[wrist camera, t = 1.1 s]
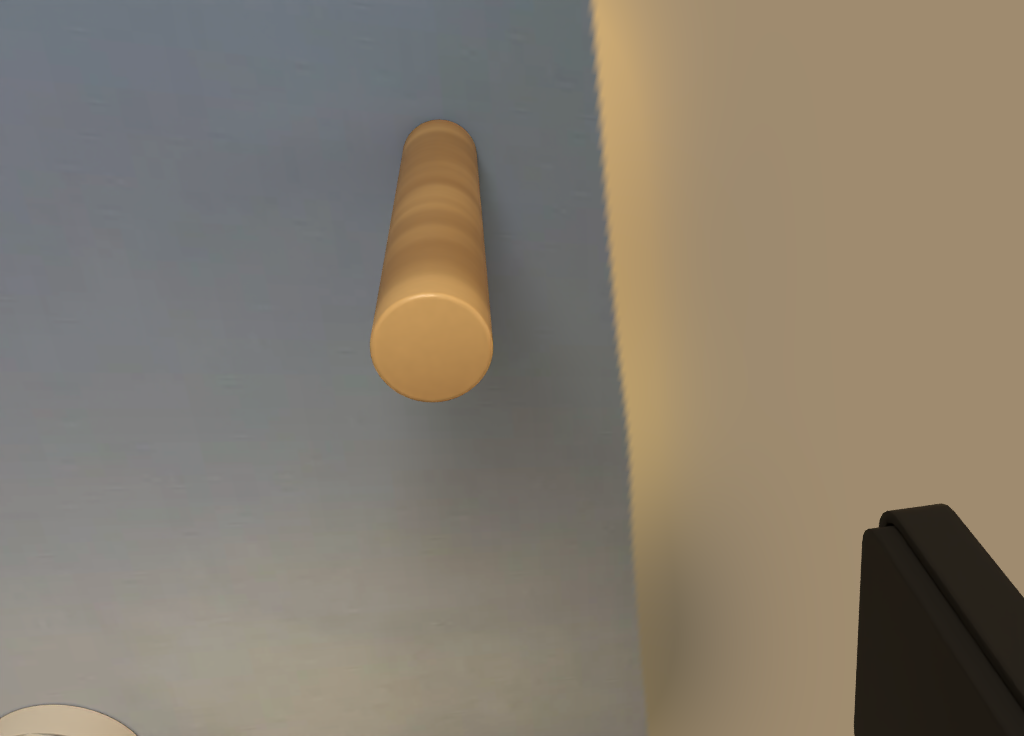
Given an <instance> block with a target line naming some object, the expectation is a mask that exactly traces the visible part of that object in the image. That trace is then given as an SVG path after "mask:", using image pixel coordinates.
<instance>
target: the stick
mask: <svg viewBox="0 0 1024 736" xmlns="http://www.w3.org/2000/svg"><path fill="white" fill-rule="evenodd" d="M370 353H371V358H372V361H373V364H374V367H375V369H376V371H377V372H378V374H379V376H380V377H381V378H382V379H383V381H384V382H385V383H386V384H387V385H388V386H390V387H391V388H392V389H393V390H395V391H396V392H397V393H399V394H401V395H403V396H405V397H408V398H410V399H413V400H417V401H423V402H442V401H447V400H451V399H454V398H457V397H459V396H461V395H463V394H465V393H466V392H468V391H469V390H471V389H472V388H473V387H474V386H476V385H477V384H478V383H479V382H480V380H481V379H482V378H483V377H484V375H485V374H486V372H487V370H488V368H489V365H490V363H491V359H492V355H493V339H492V327H491V316H490V304H489V292H488V281H487V269H486V257H485V246H484V234H483V222H482V211H481V199H480V187H479V176H478V164H477V152H476V147H475V144H474V142H473V140H472V138H471V137H470V135H469V134H468V133H467V132H466V130H464V129H463V128H462V127H461V126H459V125H458V124H455V123H453V122H450V121H447V120H432V121H428V122H425V123H423V124H421V125H419V126H418V127H416V128H415V129H414V130H413V131H412V132H411V133H410V134H409V136H408V138H407V139H406V142H405V144H404V148H403V154H402V159H401V165H400V171H399V177H398V183H397V188H396V194H395V200H394V206H393V211H392V217H391V223H390V229H389V235H388V240H387V246H386V252H385V258H384V264H383V269H382V275H381V281H380V287H379V292H378V298H377V304H376V310H375V316H374V321H373V327H372V333H371V339H370Z"/></svg>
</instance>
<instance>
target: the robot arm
mask: <svg viewBox="0 0 1024 736" xmlns="http://www.w3.org/2000/svg"><path fill="white" fill-rule="evenodd" d="M861 561H862V562H861V581H860V583H861V584H860V604H859V626H858V648H857V670H856V692H855V694H856V695H855V715H854V734H855V736H1024V598H1023V596H1022V595H1021V594H1020V593H1019V591H1018V590H1017V589H1016V588H1015V586H1014V585H1013V584H1012V583H1011V582H1010V580H1009V579H1008V578H1007V576H1006V575H1005V574H1004V573H1003V571H1002V570H1001V569H1000V568H999V566H998V565H997V564H996V563H995V561H994V560H993V559H992V558H991V557H990V555H989V554H988V553H987V552H986V550H985V549H984V548H983V547H982V545H981V544H980V543H979V542H978V540H977V539H976V538H975V537H974V535H973V534H972V533H971V532H970V530H969V529H968V528H967V527H966V525H965V524H964V523H963V522H962V521H961V519H960V518H959V517H958V516H957V514H956V513H955V512H954V511H953V510H952V509H951V508H950V507H949V506H948V505H945V504H935V505H928V506H922V507H914V508H907V509H899V510H892V511H886V512H885V513H883V514H882V516H881V518H880V522H879V528H872V529H868V530H866V531H865V532H864V535H863V541H862V560H861Z"/></svg>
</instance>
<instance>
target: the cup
mask: <svg viewBox="0 0 1024 736" xmlns="http://www.w3.org/2000/svg"><path fill="white" fill-rule="evenodd" d="M0 736H137V735H135V734H134V733H133V732H132V731H131V730H130V729H128V728H127V727H126V726H124V725H123V724H121V723H119V722H118V721H116V720H114V719H112V718H110V717H108V716H106V715H103V714H101V713H98V712H95V711H92V710H88V709H85V708H80V707H74V706H67V705H41V706H33V707H28V708H24V709H20V710H17V711H14V712H12V713H10V714H8V715H6V716H4V717H2V718H0Z"/></svg>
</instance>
